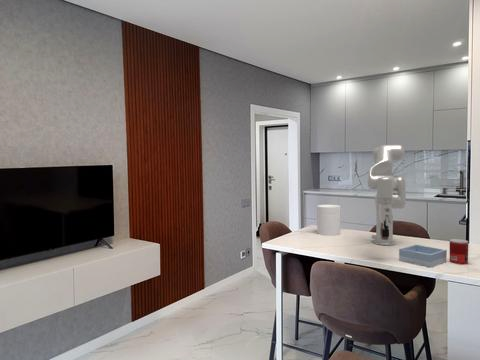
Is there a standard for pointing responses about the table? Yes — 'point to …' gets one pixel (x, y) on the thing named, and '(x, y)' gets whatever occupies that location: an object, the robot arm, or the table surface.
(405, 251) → the slate box
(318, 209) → the canister
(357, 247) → the table surface
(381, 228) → the walnut peg
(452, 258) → the canned food
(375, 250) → the table surface
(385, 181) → the robot arm
